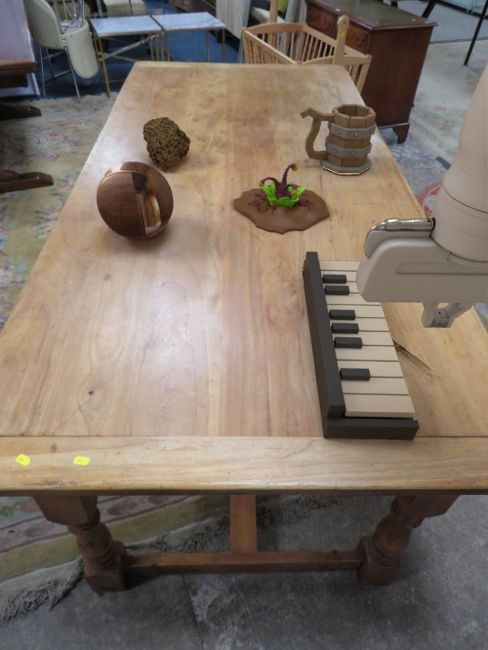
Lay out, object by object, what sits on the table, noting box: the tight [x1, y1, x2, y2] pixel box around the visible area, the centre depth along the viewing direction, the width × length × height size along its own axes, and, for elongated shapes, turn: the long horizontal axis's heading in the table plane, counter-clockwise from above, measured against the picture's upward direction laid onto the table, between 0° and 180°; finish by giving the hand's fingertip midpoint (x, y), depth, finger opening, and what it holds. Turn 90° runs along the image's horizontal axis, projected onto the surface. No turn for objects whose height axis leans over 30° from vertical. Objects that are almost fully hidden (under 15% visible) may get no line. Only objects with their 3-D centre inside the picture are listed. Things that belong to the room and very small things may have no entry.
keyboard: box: [301, 250, 421, 441], centre depth 69 cm, size 12×36×6 cm, turn 179°
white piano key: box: [343, 394, 416, 419], centre depth 58 cm, size 9×3×1 cm, turn 89°
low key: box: [319, 260, 360, 272], centre depth 79 cm, size 9×3×1 cm, turn 89°
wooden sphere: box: [95, 160, 175, 240], centre depth 87 cm, size 15×15×15 cm
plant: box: [233, 163, 330, 235], centre depth 95 cm, size 20×20×11 cm
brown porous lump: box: [142, 116, 192, 171], centre depth 114 cm, size 11×13×15 cm
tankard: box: [299, 103, 377, 174], centre depth 112 cm, size 20×13×15 cm, turn 92°
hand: (434, 324), depth 51 cm, fingers closed
